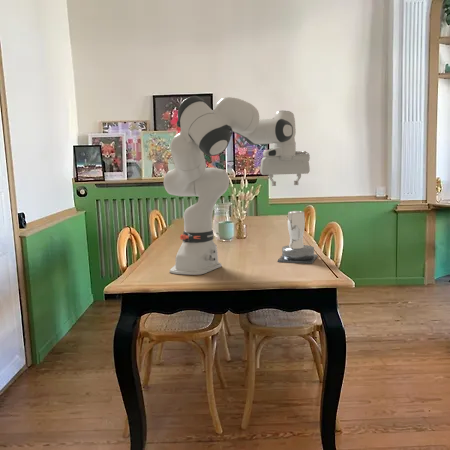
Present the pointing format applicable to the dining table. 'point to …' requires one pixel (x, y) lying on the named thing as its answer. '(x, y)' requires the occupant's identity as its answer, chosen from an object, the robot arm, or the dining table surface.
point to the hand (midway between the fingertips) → (285, 185)
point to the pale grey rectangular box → (296, 229)
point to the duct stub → (298, 255)
